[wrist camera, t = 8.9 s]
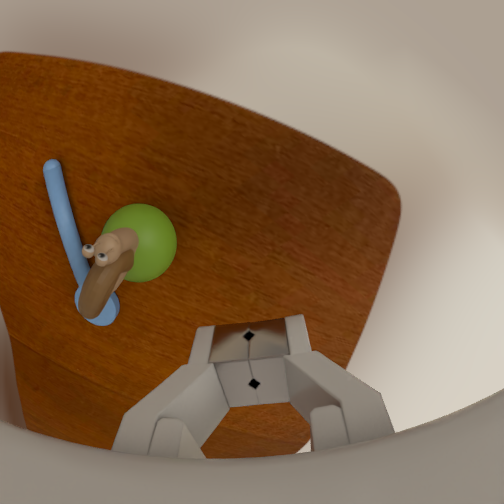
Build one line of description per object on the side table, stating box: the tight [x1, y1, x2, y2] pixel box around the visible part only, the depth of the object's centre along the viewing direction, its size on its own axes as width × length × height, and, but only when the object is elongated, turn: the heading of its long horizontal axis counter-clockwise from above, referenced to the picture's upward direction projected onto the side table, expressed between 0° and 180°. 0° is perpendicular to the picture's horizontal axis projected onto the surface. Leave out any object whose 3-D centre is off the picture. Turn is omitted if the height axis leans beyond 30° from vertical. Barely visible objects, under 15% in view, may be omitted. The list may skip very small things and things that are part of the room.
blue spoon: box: [43, 159, 120, 326], centre depth 22 cm, size 16×4×2 cm, turn 9°
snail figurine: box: [78, 204, 177, 319], centre depth 17 cm, size 5×6×12 cm
